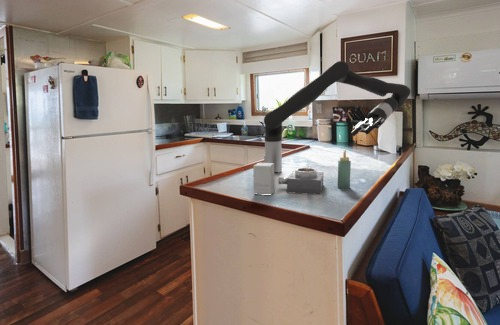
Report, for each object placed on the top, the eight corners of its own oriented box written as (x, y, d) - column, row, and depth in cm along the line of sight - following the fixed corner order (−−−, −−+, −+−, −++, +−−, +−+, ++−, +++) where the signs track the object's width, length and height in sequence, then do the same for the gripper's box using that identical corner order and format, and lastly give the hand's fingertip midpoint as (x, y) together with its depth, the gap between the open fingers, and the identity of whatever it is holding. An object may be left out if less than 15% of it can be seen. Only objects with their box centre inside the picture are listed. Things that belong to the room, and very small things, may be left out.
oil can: (337, 188, 136) (338, 151, 133) (337, 185, 141) (338, 149, 138) (349, 189, 134) (351, 151, 131) (349, 186, 139) (351, 149, 136)
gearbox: (275, 191, 133) (275, 172, 132) (282, 183, 148) (282, 165, 147) (320, 194, 128) (320, 174, 126) (323, 185, 143) (323, 166, 141)
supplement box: (275, 191, 134) (274, 162, 132) (270, 196, 127) (270, 166, 125) (258, 190, 136) (258, 162, 134) (253, 195, 130) (252, 165, 127)
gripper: (365, 110, 152) (344, 128, 146) (388, 104, 139) (366, 124, 133) (372, 123, 153) (351, 141, 148) (396, 118, 140) (374, 139, 135)
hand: (358, 133), depth 141 cm, fingers open, 8 cm apart
